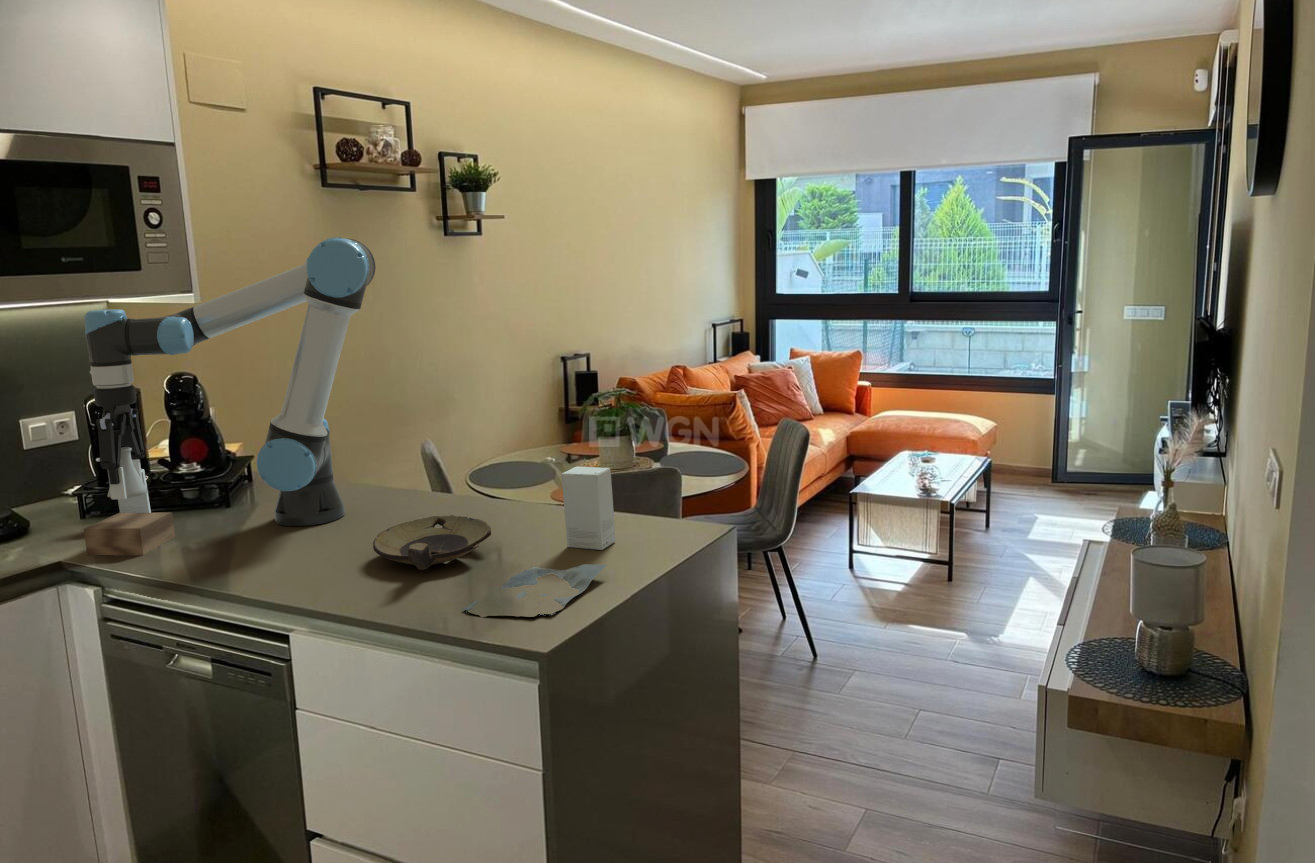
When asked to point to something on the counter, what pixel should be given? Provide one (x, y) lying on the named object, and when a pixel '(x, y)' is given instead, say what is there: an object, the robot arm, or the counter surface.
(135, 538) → the walnut block
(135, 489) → the flask
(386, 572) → the counter surface
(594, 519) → the skincare box
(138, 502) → the skincare box
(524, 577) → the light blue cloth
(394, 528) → the oil lamp
